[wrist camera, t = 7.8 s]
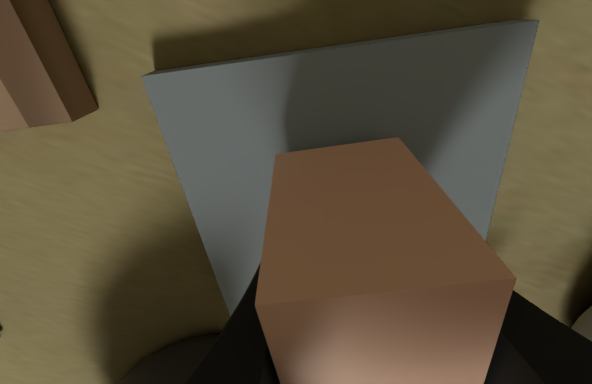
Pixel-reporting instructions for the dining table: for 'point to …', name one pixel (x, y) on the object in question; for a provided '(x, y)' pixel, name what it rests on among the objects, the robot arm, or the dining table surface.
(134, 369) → the dark rounded block
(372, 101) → the mat
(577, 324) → the jar
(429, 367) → the terracotta block
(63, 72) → the brown wooden frame
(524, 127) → the dining table surface
